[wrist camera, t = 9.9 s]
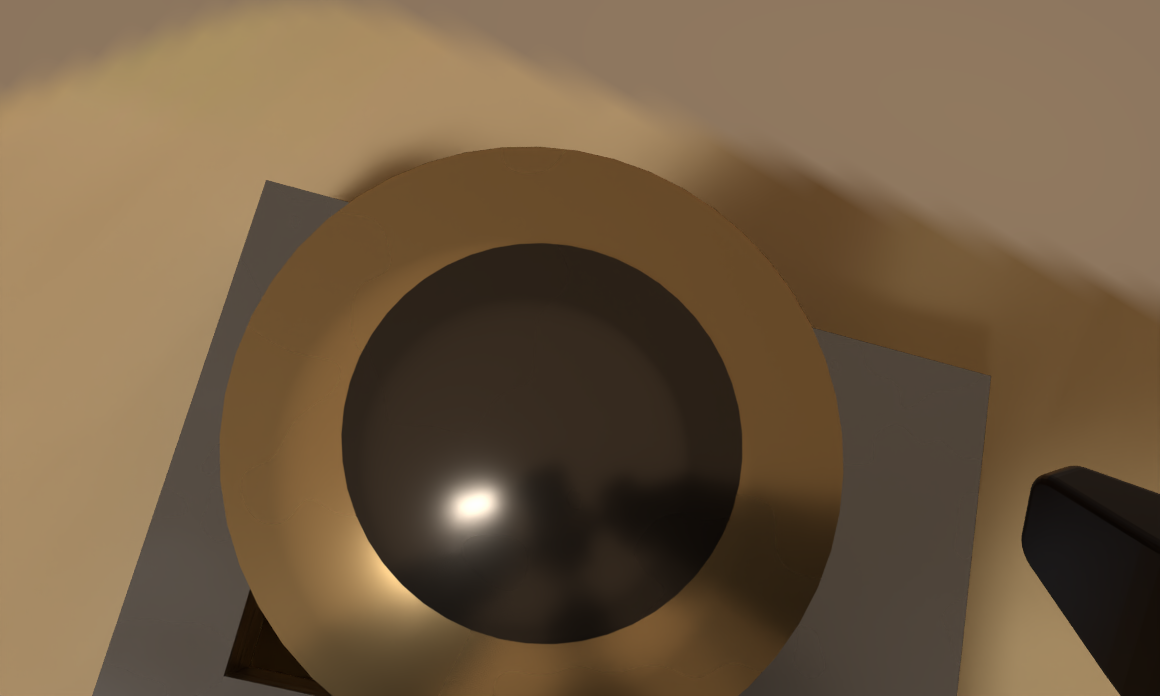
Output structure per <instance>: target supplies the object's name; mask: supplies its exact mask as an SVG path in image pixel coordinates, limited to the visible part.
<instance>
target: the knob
mask: <svg viewBox="0 0 1160 696" xmlns="http://www.w3.org/2000/svg"><path fill="white" fill-rule="evenodd" d="M220 482H221V488H222V495H223V501H224V508H225V514H226V520H227V525H228V529H229V532H230V535H231V538H232V542H233V545H234V548H235V552H236V555H237V558H238V562H239V565H240V567H241V570H242V572H243V574H244V576H245V578H246V580H247V583H248V585H249V587H250V589H251V591H252V593H253V596H254V598H255V600H256V602H257V604H258V606H259V608H260V609H261V611H262V613H263V614H264V616H265V617H266V619H267V620H268V622H269V623H270V625H271V626H272V628H273V630H274V631H275V633H276V634H277V636H278V637H279V639H280V640H281V642H282V644H283V645H284V646H285V647H286V648H287V649H288V651H289V652H290V653H291V654H292V655H293V656H294V657H295V659H296V660H297V661H298V662H299V663H300V664H301V666H302V667H303V668H304V669H305V670H306V671H307V672H308V674H309V675H310V676H311V677H312V678H313V679H314V680H315V681H316V682H317V683H319V684H320V685H321V686H322V687H323V688H324V689H326V690H327V691H328V692H329V693H330V694H331V695H332V696H738V695H740V694H741V693H742V692H743V691H744V690H746V689H747V688H748V687H749V686H750V685H751V684H752V683H753V682H754V680H755V679H756V678H757V677H758V676H759V675H760V674H761V673H762V672H763V671H764V670H765V668H766V667H767V666H768V665H769V664H770V663H771V662H772V661H773V660H774V659H775V658H776V656H777V655H778V653H779V652H780V651H781V649H782V648H783V646H784V645H785V643H786V642H787V641H788V639H789V638H790V636H791V635H792V633H793V632H794V631H795V629H796V628H797V626H798V625H799V623H800V621H801V619H802V617H803V616H804V614H805V612H806V610H807V608H808V606H809V604H810V602H811V600H812V598H813V596H814V594H815V592H816V590H817V588H818V586H819V583H820V580H821V578H822V575H823V572H824V569H825V566H826V564H827V561H828V558H829V555H830V553H831V550H832V545H833V540H834V536H835V531H836V527H837V522H838V518H839V513H840V504H841V493H842V482H843V448H842V431H841V424H840V418H839V412H838V406H837V399H836V394H835V391H834V387H833V384H832V380H831V377H830V373H829V370H828V366H827V363H826V359H825V357H824V355H823V352H822V350H821V347H820V345H819V343H818V340H817V338H816V336H815V333H814V331H813V329H812V326H811V324H810V322H809V320H808V319H807V317H806V315H805V313H804V312H803V310H802V308H801V306H800V305H799V303H798V301H797V299H796V298H795V296H794V294H793V292H792V291H791V289H790V288H789V287H788V285H787V284H786V283H785V281H784V280H783V279H782V277H781V276H780V275H779V273H778V272H777V270H776V269H775V268H774V266H773V265H772V264H771V262H770V261H769V260H768V259H767V258H766V257H765V256H764V255H763V254H762V252H761V251H760V250H759V249H758V248H757V247H756V246H755V245H754V244H753V243H752V242H751V241H750V240H749V239H748V238H747V237H746V235H745V234H744V233H742V232H741V231H740V230H739V229H738V228H737V227H735V226H734V225H733V224H732V223H731V222H729V221H728V220H727V219H726V218H725V217H723V216H722V215H721V214H720V213H719V212H717V211H716V210H715V209H714V208H712V207H711V206H709V205H708V204H706V203H704V202H703V201H701V200H700V199H698V198H697V197H695V196H694V195H692V194H691V193H689V192H688V191H686V190H685V189H683V188H681V187H679V186H677V185H675V184H673V183H671V182H669V181H667V180H665V179H663V178H661V177H659V176H657V175H655V174H653V173H651V172H649V171H646V170H643V169H640V168H637V167H635V166H632V165H629V164H626V163H624V162H621V161H618V160H615V159H611V158H607V157H602V156H598V155H594V154H589V153H585V152H581V151H575V150H565V149H556V148H546V147H502V148H495V149H488V150H480V151H473V152H466V153H462V154H458V155H454V156H450V157H447V158H443V159H439V160H436V161H432V162H428V163H425V164H423V165H420V166H418V167H416V168H413V169H411V170H408V171H406V172H403V173H401V174H398V175H396V176H394V177H391V178H389V179H388V180H386V181H384V182H382V183H381V184H379V185H377V186H375V187H374V188H372V189H370V190H368V191H367V192H365V193H363V194H361V195H359V196H358V197H356V198H355V199H354V200H352V201H351V202H350V203H348V204H347V205H346V206H344V207H343V208H342V209H340V210H339V211H338V212H336V213H335V214H334V215H332V216H331V217H330V218H328V219H327V220H326V221H325V222H324V223H323V224H322V225H321V226H320V227H319V228H318V229H317V230H316V231H315V232H313V233H312V234H311V235H310V236H309V237H308V238H307V239H306V240H305V241H304V242H303V243H302V244H301V245H300V246H299V247H298V248H297V249H296V251H295V252H294V253H293V254H292V256H291V257H290V258H289V260H288V261H287V262H286V263H285V265H284V266H283V267H282V269H281V270H280V271H279V272H278V274H277V275H276V276H275V278H274V279H273V280H272V282H271V283H270V285H269V287H268V289H267V290H266V292H265V294H264V295H263V297H262V299H261V300H260V302H259V304H258V306H257V307H256V309H255V311H254V312H253V314H252V316H251V318H250V321H249V323H248V326H247V328H246V330H245V333H244V335H243V337H242V340H241V342H240V345H239V347H238V349H237V352H236V354H235V358H234V362H233V366H232V369H231V373H230V377H229V381H228V385H227V388H226V392H225V397H224V405H223V413H222V422H221V430H220Z"/></svg>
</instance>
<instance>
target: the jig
mask: <svg viewBox="0 0 1160 696" xmlns="http://www.w3.org/2000/svg"><path fill="white" fill-rule="evenodd" d="M348 203H349V202H346V201H342V200H338V199H335V198H331V197H327V196H323V195H320V194H316V193H312V192H309V191H305V190H301V189H298V188H294V187H290V186H286V185H283V184H279V183H275V182H272V181H268V180H266V182H265V185H264V188H263V191H262V194H261V197H260V200H259V203H258V206H257V209H256V212H255V215H254V218H253V221H252V224H251V227H250V230H249V233H248V236H247V239H246V242H245V245H244V248H243V251H242V253H241V256H240V259H239V262H238V265H237V268H236V271H235V274H234V277H233V280H232V283H231V286H230V289H229V292H228V295H227V298H226V301H225V304H224V307H223V310H222V313H221V316H220V319H219V322H218V325H217V328H216V331H215V333H214V336H213V339H212V342H211V345H210V348H209V351H208V354H207V357H206V360H205V363H204V366H203V369H202V372H201V375H200V378H199V381H198V384H197V387H196V390H195V393H194V396H193V399H192V402H191V405H190V408H189V411H188V413H187V416H186V419H185V422H184V425H183V428H182V431H181V434H180V437H179V440H178V443H177V446H176V449H175V452H174V455H173V458H172V461H171V464H170V467H169V470H168V473H167V476H166V479H165V482H164V485H163V488H162V491H161V493H160V496H159V499H158V502H157V505H156V508H155V511H154V514H153V517H152V520H151V523H150V526H149V529H148V532H147V535H146V538H145V541H144V544H143V547H142V550H141V553H140V556H139V559H138V562H137V565H136V568H135V571H134V573H133V576H132V579H131V582H130V585H129V588H128V591H127V594H126V597H125V600H124V603H123V606H122V609H121V612H120V615H119V618H118V621H117V624H116V627H115V630H114V633H113V636H112V639H111V642H110V645H109V648H108V651H107V653H106V656H105V659H104V662H103V665H102V668H101V671H100V674H99V677H98V680H97V683H96V686H95V689H94V692H93V695H92V696H332V695H331V694H330V693H329V692H328V691H327V690H326V689H324V688H323V687H322V686H321V685H320V684H319V683H317V682H316V681H315V680H311V679H307V678H302V677H298V676H293V675H289V674H284V673H279V672H275V671H270V670H266V669H261V668H257V667H252V666H250V665H251V662H252V658H253V655H254V652H255V648H256V645H257V642H258V638H259V635H260V631H261V628H262V625H263V621H264V618H265V616H264V614H263V613H262V611H261V609H260V608H259V606H258V604H257V602H256V600H255V598H254V596H253V593H252V591H251V589H250V587H249V585H248V583H247V580H246V578H245V576H244V574H243V572H242V570H241V567H240V565H239V562H238V558H237V555H236V552H235V548H234V545H233V542H232V538H231V535H230V532H229V529H228V525H227V520H226V514H225V508H224V501H223V495H222V488H221V482H220V430H221V422H222V413H223V405H224V397H225V392H226V388H227V385H228V381H229V377H230V373H231V369H232V366H233V362H234V358H235V354H236V352H237V349H238V347H239V345H240V342H241V340H242V337H243V335H244V333H245V330H246V328H247V326H248V323H249V321H250V318H251V316H252V314H253V312H254V311H255V309H256V307H257V306H258V304H259V302H260V300H261V299H262V297H263V295H264V294H265V292H266V290H267V289H268V287H269V285H270V283H271V282H272V280H273V279H274V278H275V276H276V275H277V274H278V272H279V271H280V270H281V269H282V267H283V266H284V265H285V263H286V262H287V261H288V260H289V258H290V257H291V256H292V254H293V253H294V252H295V251H296V249H297V248H298V247H299V246H300V245H301V244H302V243H303V242H304V241H305V240H306V239H307V238H308V237H309V236H310V235H311V234H312V233H313V232H315V231H316V230H317V229H318V228H319V227H320V226H321V225H322V224H323V223H324V222H325V221H326V220H327V219H328V218H330V217H331V216H332V215H334V214H335V213H336V212H338V211H339V210H340V209H342V208H343V207H344V206H346V205H347V204H348ZM812 329H813V331H814V333H815V336H816V338H817V340H818V343H819V345H820V347H821V350H822V352H823V355H824V357H825V359H826V363H827V366H828V370H829V373H830V377H831V380H832V384H833V387H834V391H835V394H836V399H837V406H838V412H839V418H840V424H841V431H842V448H843V482H842V493H841V504H840V513H839V518H838V522H837V527H836V531H835V536H834V540H833V545H832V550H831V553H830V555H829V558H828V561H827V564H826V566H825V569H824V572H823V575H822V578H821V580H820V583H819V586H818V588H817V590H816V592H815V594H814V596H813V598H812V600H811V602H810V604H809V606H808V608H807V610H806V612H805V614H804V616H803V617H802V619H801V621H800V623H799V625H798V626H797V628H796V629H795V631H794V632H793V633H792V635H791V636H790V638H789V639H788V641H787V642H786V643H785V645H784V646H783V648H782V649H781V651H780V652H779V653H778V655H777V656H776V658H775V659H774V660H773V661H772V662H771V663H770V664H769V665H768V666H767V667H766V668H765V670H764V671H763V672H762V673H761V674H760V675H759V676H758V677H757V678H756V679H755V680H754V682H753V683H752V684H751V685H750V686H749V687H748V688H747V689H746V690H744V691H743V692H742V693H741V694H740V695H738V696H957V690H958V681H959V671H960V662H961V653H962V643H963V634H964V624H965V615H966V606H967V596H968V587H969V578H970V568H971V559H972V549H973V540H974V531H975V521H976V512H977V503H978V493H979V484H980V474H981V465H982V456H983V446H984V437H985V428H986V418H987V409H988V399H989V390H990V381H991V376H989V375H985V374H981V373H978V372H974V371H970V370H967V369H963V368H959V367H956V366H952V365H948V364H944V363H941V362H937V361H933V360H930V359H926V358H922V357H919V356H915V355H911V354H907V353H904V352H900V351H896V350H893V349H889V348H885V347H882V346H878V345H874V344H871V343H867V342H863V341H859V340H856V339H852V338H848V337H845V336H841V335H837V334H834V333H830V332H826V331H822V330H819V329H815V328H812Z"/></svg>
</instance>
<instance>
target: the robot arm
mask: <svg viewBox="0 0 1160 696" xmlns="http://www.w3.org/2000/svg"><path fill="white" fill-rule="evenodd" d="M1021 540H1022V548H1023V551H1024V554H1025V557H1026V559H1027V561H1028V563H1029V564H1030V566H1031V568H1032V569H1033V570H1034V572H1035V573H1036V575H1037V576H1038V578H1039V579H1040V581H1041V582H1042V584H1043V585H1044V586H1045V588H1046V589H1047V591H1048V592H1049V594H1050V595H1051V597H1052V598H1053V600H1054V601H1055V602H1056V604H1057V605H1058V607H1059V608H1060V610H1061V611H1062V613H1063V614H1064V616H1065V617H1066V618H1067V620H1068V621H1069V623H1070V624H1071V626H1072V627H1073V629H1074V630H1075V632H1076V633H1077V634H1078V636H1079V637H1080V639H1081V640H1082V642H1083V643H1084V645H1085V646H1086V648H1087V649H1088V650H1089V652H1090V653H1091V655H1092V656H1093V658H1094V659H1095V661H1096V662H1097V664H1098V665H1099V666H1100V668H1101V669H1102V671H1103V672H1104V674H1105V675H1106V676H1107V678H1108V679H1109V681H1110V682H1111V683H1112V685H1113V686H1114V687H1115V689H1116V690H1117V691H1118V693H1119V694H1120V696H1160V494H1158V493H1155V492H1153V491H1150V490H1147V489H1144V488H1141V487H1138V486H1136V485H1133V484H1130V483H1127V482H1124V481H1121V480H1119V479H1116V478H1113V477H1110V476H1107V475H1104V474H1102V473H1099V472H1096V471H1093V470H1090V469H1087V468H1084V467H1081V466H1068V467H1064V468H1061V469H1058V470H1055V471H1052V472H1049V473H1047V474H1044V475H1041V476H1039V477H1038V478H1037V479H1036V480H1035V481H1034V482H1033V484H1032V487H1031V491H1030V496H1029V501H1028V506H1027V511H1026V516H1025V521H1024V526H1023V532H1022V539H1021Z"/></svg>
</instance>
